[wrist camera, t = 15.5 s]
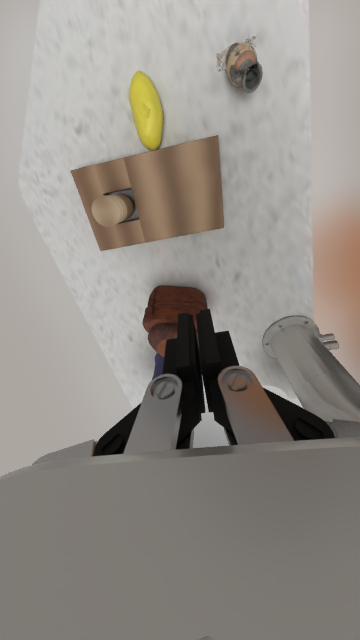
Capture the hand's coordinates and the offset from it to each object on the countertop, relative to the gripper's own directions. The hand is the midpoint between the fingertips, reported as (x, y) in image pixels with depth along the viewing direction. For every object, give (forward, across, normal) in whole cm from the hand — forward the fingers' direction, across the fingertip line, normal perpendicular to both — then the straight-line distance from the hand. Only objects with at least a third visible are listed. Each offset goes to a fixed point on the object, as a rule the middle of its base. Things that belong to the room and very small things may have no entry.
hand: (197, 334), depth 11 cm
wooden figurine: (+32, +4, +13) cm, 35 cm away
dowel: (+32, +10, -6) cm, 34 cm away
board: (+32, +5, -6) cm, 33 cm away
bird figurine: (+32, -10, -18) cm, 38 cm away
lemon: (+32, +3, -16) cm, 36 cm away
